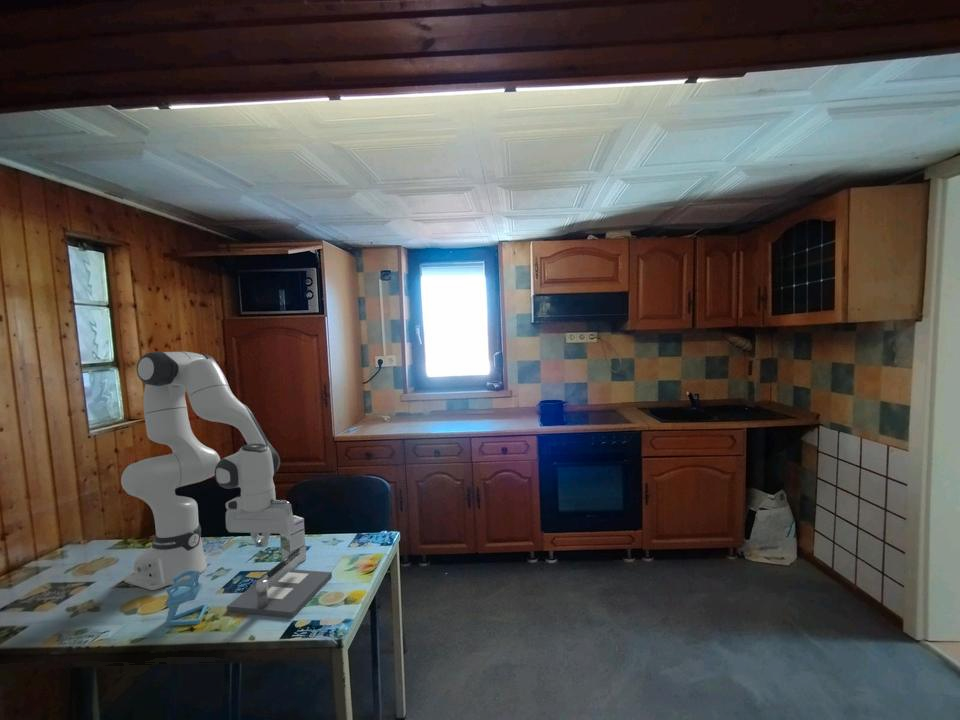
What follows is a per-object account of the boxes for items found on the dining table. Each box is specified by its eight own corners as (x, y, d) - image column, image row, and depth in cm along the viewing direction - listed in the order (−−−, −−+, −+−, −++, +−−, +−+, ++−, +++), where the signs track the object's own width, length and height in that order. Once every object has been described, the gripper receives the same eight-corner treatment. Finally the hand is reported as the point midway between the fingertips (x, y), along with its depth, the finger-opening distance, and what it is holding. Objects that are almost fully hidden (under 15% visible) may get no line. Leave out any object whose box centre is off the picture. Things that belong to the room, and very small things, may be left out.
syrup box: (307, 559, 136) (304, 517, 135) (290, 568, 131) (288, 524, 130) (296, 555, 139) (294, 514, 139) (280, 563, 134) (278, 520, 134)
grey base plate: (227, 611, 110) (226, 593, 110) (274, 572, 128) (273, 557, 128) (293, 617, 106) (292, 599, 106) (331, 576, 125) (331, 561, 125)
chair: (172, 614, 110) (169, 571, 109) (208, 606, 113) (205, 564, 112) (161, 632, 102) (158, 586, 102) (200, 623, 105) (196, 578, 105)
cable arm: (254, 594, 108) (253, 580, 108) (297, 558, 127) (296, 546, 126) (263, 595, 108) (262, 581, 108) (305, 558, 126) (304, 546, 126)
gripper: (297, 496, 119) (300, 542, 120) (237, 495, 123) (240, 540, 123) (283, 504, 113) (286, 552, 113) (220, 503, 117) (223, 550, 117)
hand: (261, 546), depth 118 cm, fingers closed
